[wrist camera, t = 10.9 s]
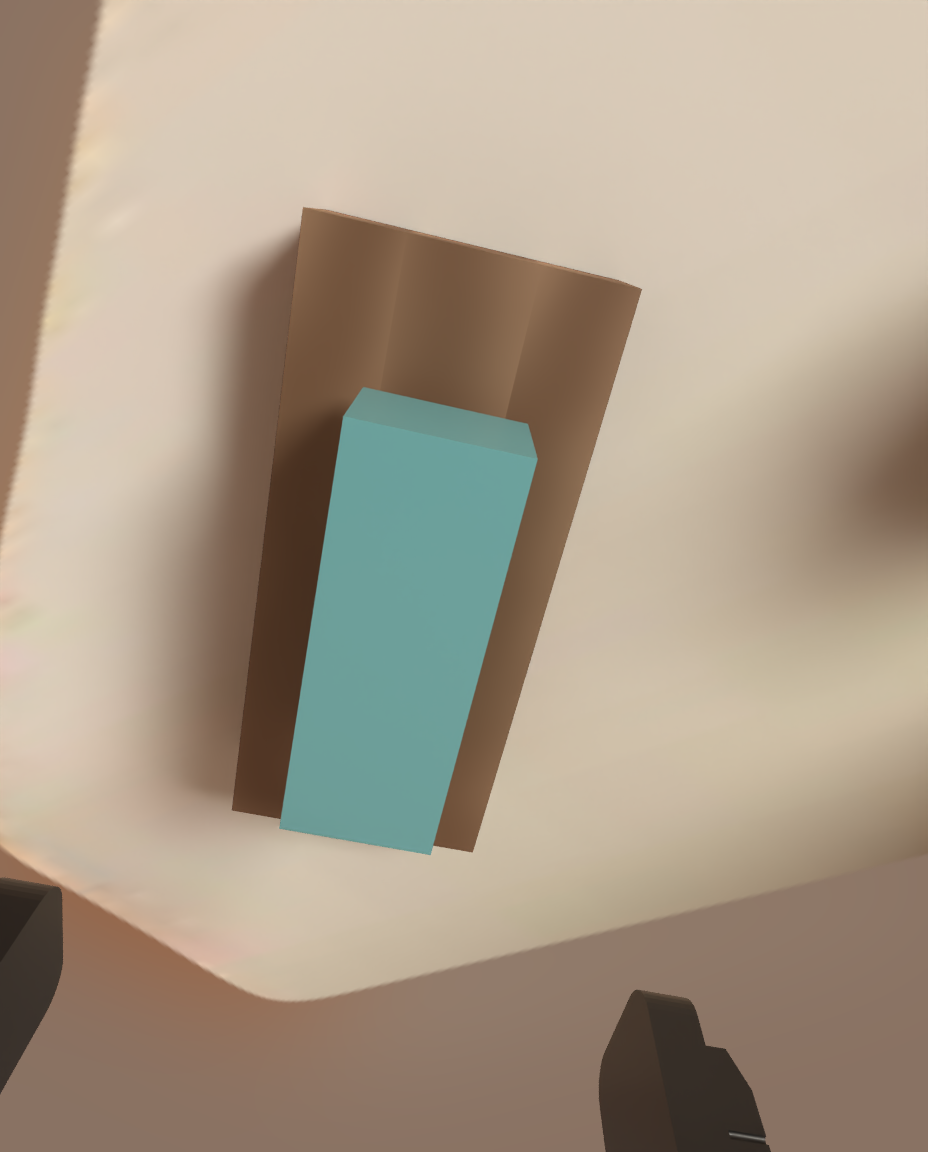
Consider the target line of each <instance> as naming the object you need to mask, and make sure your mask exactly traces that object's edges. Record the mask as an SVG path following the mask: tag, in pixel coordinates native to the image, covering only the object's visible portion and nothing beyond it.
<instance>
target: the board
mask: <svg viewBox="0 0 928 1152" xmlns="http://www.w3.org/2000/svg"><path fill="white" fill-rule="evenodd" d="M641 290H642V289H640V288H638V287H635V286H632V285H630V284H627V283H624V282H622V281H619V280H615V279H611V278H607V277H603V276H598V275H594V274H590V273H586V272H582V271H578V270H574V269H569V268H565V267H561V266H557V265H553V264H549V263H545V262H540V261H536V260H532V259H528V258H524V257H520V256H516V255H511V254H507V253H503V252H499V251H495V250H491V249H487V248H483V247H478V246H474V245H470V244H466V243H462V242H458V241H454V240H449V239H445V238H441V237H437V236H433V235H429V234H425V233H420V232H416V231H412V230H408V229H404V228H400V227H396V226H392V225H387V224H383V223H379V222H375V221H371V220H367V219H363V218H358V217H354V216H350V215H346V214H342V213H338V212H334V211H329V210H324V209H314V208H305V207H303V212H302V220H301V229H300V237H299V246H298V254H297V263H296V271H295V280H294V288H293V297H292V305H291V314H290V322H289V331H288V339H287V348H286V356H285V365H284V373H283V382H282V390H281V399H280V407H279V415H278V424H277V432H276V441H275V449H274V458H273V466H272V475H271V483H270V492H269V500H268V509H267V517H266V526H265V534H264V543H263V551H262V560H261V568H260V577H259V585H258V594H257V602H256V611H255V619H254V627H253V636H252V644H251V653H250V661H249V670H248V678H247V687H246V695H245V704H244V712H243V721H242V729H241V738H240V746H239V755H238V763H237V772H236V780H235V789H234V797H233V806H232V810H233V811H239V812H244V813H250V814H256V815H262V816H267V817H273V818H279V819H281V815H282V808H283V802H284V795H285V789H286V782H287V776H288V769H289V763H290V757H291V750H292V744H293V737H294V731H295V724H296V718H297V711H298V705H299V699H300V692H301V686H302V679H303V673H304V666H305V660H306V653H307V647H308V641H309V634H310V628H311V621H312V615H313V608H314V602H315V595H316V589H317V583H318V576H319V570H320V563H321V557H322V550H323V544H324V537H325V531H326V525H327V518H328V512H329V505H330V499H331V492H332V486H333V479H334V473H335V467H336V460H337V454H338V447H339V441H340V434H341V428H342V421H343V416H344V414H345V413H346V411H347V410H348V409H349V407H350V406H351V404H352V403H353V401H354V400H355V398H356V397H357V395H358V394H359V392H360V391H361V389H362V388H363V387H366V388H370V389H375V390H379V391H383V392H388V393H392V394H397V395H401V396H406V397H410V398H415V399H419V400H424V401H428V402H432V403H437V404H441V405H446V406H450V407H455V408H459V409H464V410H468V411H473V412H477V413H482V414H486V415H490V416H495V417H499V418H504V419H508V420H513V421H517V422H522V423H526V424H528V426H529V429H530V433H531V437H532V440H533V444H534V447H535V451H536V455H537V458H538V460H537V464H536V467H535V471H534V475H533V478H532V482H531V486H530V489H529V493H528V497H527V500H526V504H525V508H524V512H523V515H522V519H521V523H520V526H519V530H518V534H517V537H516V541H515V545H514V548H513V552H512V556H511V560H510V563H509V567H508V571H507V574H506V578H505V582H504V585H503V589H502V593H501V596H500V600H499V604H498V608H497V611H496V615H495V619H494V622H493V626H492V630H491V633H490V637H489V641H488V645H487V648H486V652H485V656H484V659H483V663H482V667H481V670H480V674H479V678H478V681H477V685H476V689H475V693H474V696H473V700H472V704H471V707H470V711H469V715H468V718H467V722H466V726H465V729H464V733H463V737H462V741H461V744H460V748H459V752H458V755H457V759H456V763H455V766H454V770H453V774H452V777H451V781H450V785H449V789H448V792H447V796H446V800H445V803H444V807H443V811H442V814H441V818H440V822H439V825H438V829H437V833H436V837H435V840H434V844H433V846H439V847H445V848H451V849H456V850H462V851H468V852H473V850H474V846H475V843H476V840H477V836H478V833H479V830H480V826H481V823H482V820H483V816H484V813H485V810H486V806H487V803H488V800H489V796H490V793H491V790H492V786H493V783H494V780H495V776H496V773H497V770H498V766H499V763H500V760H501V756H502V753H503V750H504V746H505V743H506V740H507V736H508V733H509V730H510V726H511V723H512V720H513V716H514V713H515V710H516V706H517V703H518V700H519V697H520V693H521V690H522V687H523V683H524V680H525V677H526V673H527V670H528V667H529V663H530V660H531V657H532V653H533V650H534V647H535V643H536V640H537V637H538V633H539V630H540V627H541V623H542V620H543V617H544V613H545V610H546V607H547V603H548V600H549V597H550V593H551V590H552V587H553V583H554V580H555V577H556V573H557V570H558V567H559V563H560V560H561V557H562V553H563V550H564V547H565V543H566V540H567V537H568V533H569V530H570V527H571V523H572V520H573V517H574V513H575V510H576V507H577V503H578V500H579V497H580V493H581V490H582V487H583V483H584V480H585V477H586V473H587V470H588V467H589V464H590V460H591V457H592V454H593V450H594V447H595V444H596V440H597V437H598V434H599V430H600V427H601V424H602V420H603V417H604V414H605V410H606V407H607V404H608V400H609V397H610V394H611V390H612V387H613V384H614V380H615V377H616V374H617V370H618V367H619V364H620V360H621V357H622V354H623V350H624V347H625V344H626V340H627V337H628V334H629V330H630V327H631V324H632V320H633V317H634V314H635V310H636V307H637V304H638V300H639V297H640V294H641Z"/></svg>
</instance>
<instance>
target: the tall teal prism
mask: <svg viewBox="0 0 928 1152" xmlns="http://www.w3.org/2000/svg"><path fill="white" fill-rule="evenodd" d="M537 460H538V458H537V455H536V451H535V447H534V444H533V440H532V437H531V433H530V429H529V426H528V424H526V423H522V422H517V421H513V420H508V419H504V418H499V417H495V416H490V415H486V414H482V413H477V412H473V411H468V410H464V409H459V408H455V407H450V406H446V405H441V404H437V403H432V402H428V401H424V400H419V399H415V398H410V397H406V396H401V395H397V394H392V393H388V392H383V391H379V390H375V389H370V388H366V387H363V388H362V389H361V391H360V392H359V394H358V395H357V397H356V398H355V400H354V401H353V403H352V404H351V406H350V407H349V409H348V410H347V411H346V413H345V414H344V416H343V421H342V428H341V434H340V441H339V447H338V454H337V460H336V467H335V473H334V479H333V486H332V492H331V499H330V505H329V512H328V518H327V525H326V531H325V537H324V544H323V550H322V557H321V563H320V570H319V576H318V583H317V589H316V595H315V602H314V608H313V615H312V621H311V628H310V634H309V641H308V647H307V653H306V660H305V666H304V673H303V679H302V686H301V692H300V699H299V705H298V711H297V718H296V724H295V731H294V737H293V744H292V750H291V757H290V763H289V769H288V776H287V782H286V789H285V795H284V802H283V808H282V815H281V821H280V827H279V829H285V830H290V831H296V832H302V833H307V834H313V835H319V836H325V837H330V838H336V839H342V840H348V841H353V842H359V843H365V844H371V845H376V846H382V847H388V848H393V849H399V850H405V851H411V852H416V853H422V854H428V855H431V851H432V848H433V844H434V840H435V837H436V833H437V829H438V825H439V822H440V818H441V814H442V811H443V807H444V803H445V800H446V796H447V792H448V789H449V785H450V781H451V777H452V774H453V770H454V766H455V763H456V759H457V755H458V752H459V748H460V744H461V741H462V737H463V733H464V729H465V726H466V722H467V718H468V715H469V711H470V707H471V704H472V700H473V696H474V693H475V689H476V685H477V681H478V678H479V674H480V670H481V667H482V663H483V659H484V656H485V652H486V648H487V645H488V641H489V637H490V633H491V630H492V626H493V622H494V619H495V615H496V611H497V608H498V604H499V600H500V596H501V593H502V589H503V585H504V582H505V578H506V574H507V571H508V567H509V563H510V560H511V556H512V552H513V548H514V545H515V541H516V537H517V534H518V530H519V526H520V523H521V519H522V515H523V512H524V508H525V504H526V500H527V497H528V493H529V489H530V486H531V482H532V478H533V475H534V471H535V467H536V464H537Z"/></svg>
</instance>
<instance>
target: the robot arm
mask: <svg viewBox="0 0 928 1152" xmlns="http://www.w3.org/2000/svg"><path fill="white" fill-rule="evenodd" d="M62 929H63V928H62V892H61V889H60V888H59V887H56V886H50V885H44V884H39V883H33V882H27V881H21V880H16V879H10V878H0V1093H1V1092H2V1090H3V1088H4V1086H5V1085H6V1083H7V1081H8V1079H9V1077H10V1075H11V1073H12V1072H13V1070H14V1069H15V1067H16V1065H17V1063H18V1061H19V1060H20V1058H21V1056H22V1054H23V1052H24V1051H25V1049H26V1047H27V1045H28V1044H29V1042H30V1040H31V1038H32V1037H33V1035H34V1033H35V1031H36V1029H37V1028H38V1026H39V1024H40V1022H41V1021H42V1019H43V1017H44V1015H45V1013H46V1011H47V1010H48V1008H49V1005H50V1003H51V1001H52V999H53V996H54V994H55V991H56V988H57V985H58V982H59V978H60V975H61V970H62V964H63V930H62ZM599 1102H600V1111H601V1119H602V1127H603V1135H604V1142H605V1150H606V1152H771V1151H770V1148H769V1145H766V1142H765V1137H766V1135H765V1131H764V1128H763V1125H762V1122H761V1119H760V1115H759V1112H758V1109H757V1106H756V1103H755V1099H754V1096H753V1093H752V1090H751V1088H750V1087H749V1085H748V1084H747V1082H746V1080H745V1079H744V1077H743V1076H742V1074H741V1073H740V1071H739V1070H738V1068H737V1066H736V1065H735V1063H734V1062H733V1060H732V1058H731V1057H730V1055H729V1054H728V1052H727V1051H726V1049H723V1048H716V1047H711V1046H705V1042H704V1038H703V1035H702V1031H701V1027H700V1023H699V1020H698V1016H697V1013H696V1010H695V1008H694V1005H693V1004H692V1002H691V1001H690V1000H689V999H687V998H682V997H676V996H671V995H665V994H659V993H653V992H648V991H641V990H635V991H634V992H633V993H632V994H631V996H630V998H629V1000H628V1002H627V1005H626V1007H625V1009H624V1011H623V1013H622V1016H621V1018H620V1020H619V1022H618V1024H617V1026H616V1029H615V1031H614V1033H613V1035H612V1038H611V1040H610V1042H609V1044H608V1046H607V1048H606V1051H605V1053H604V1056H603V1059H602V1064H601V1069H600V1078H599Z"/></svg>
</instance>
